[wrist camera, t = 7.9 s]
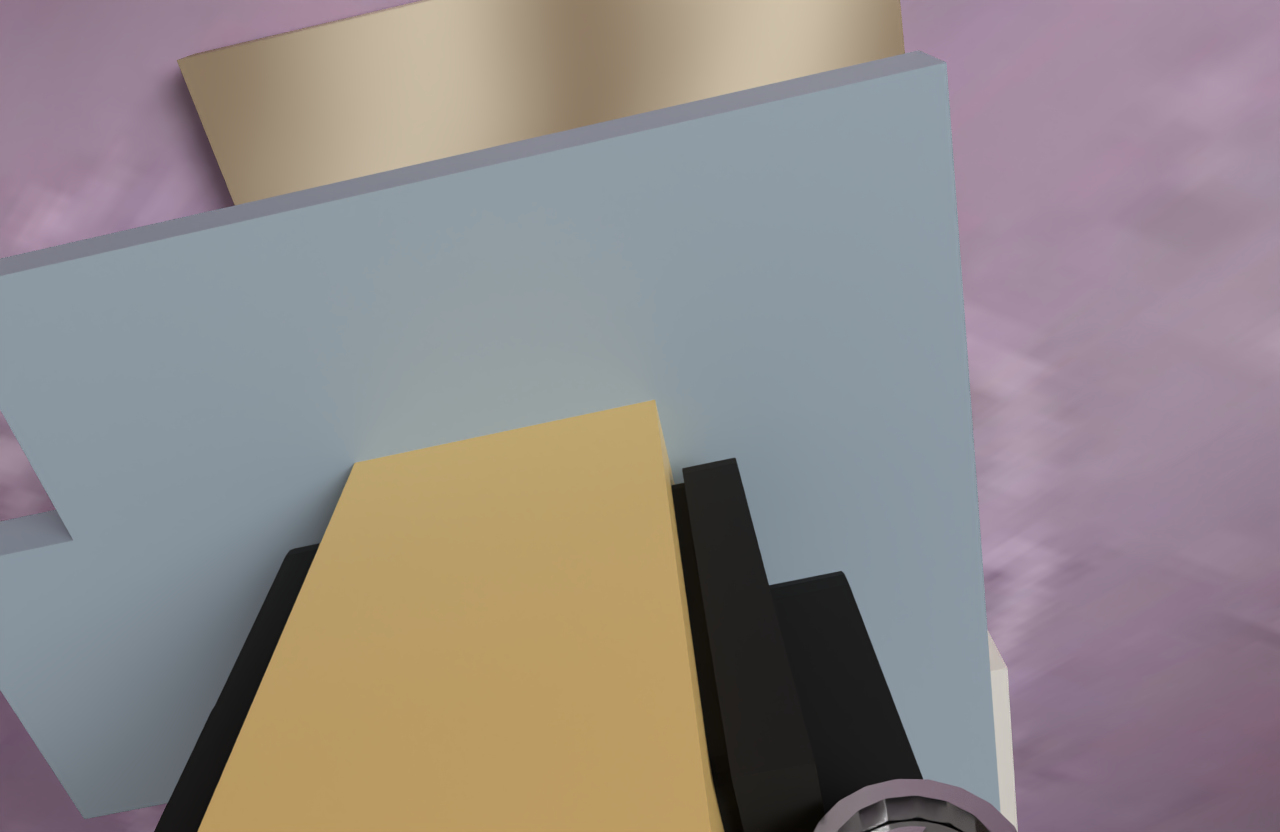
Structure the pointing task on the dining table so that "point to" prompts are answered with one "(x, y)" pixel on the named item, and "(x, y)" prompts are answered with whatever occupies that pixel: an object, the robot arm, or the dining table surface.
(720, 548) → the robot arm
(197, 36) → the dining table surface
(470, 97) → the board
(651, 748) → the lid
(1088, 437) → the dining table surface
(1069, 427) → the dining table surface
